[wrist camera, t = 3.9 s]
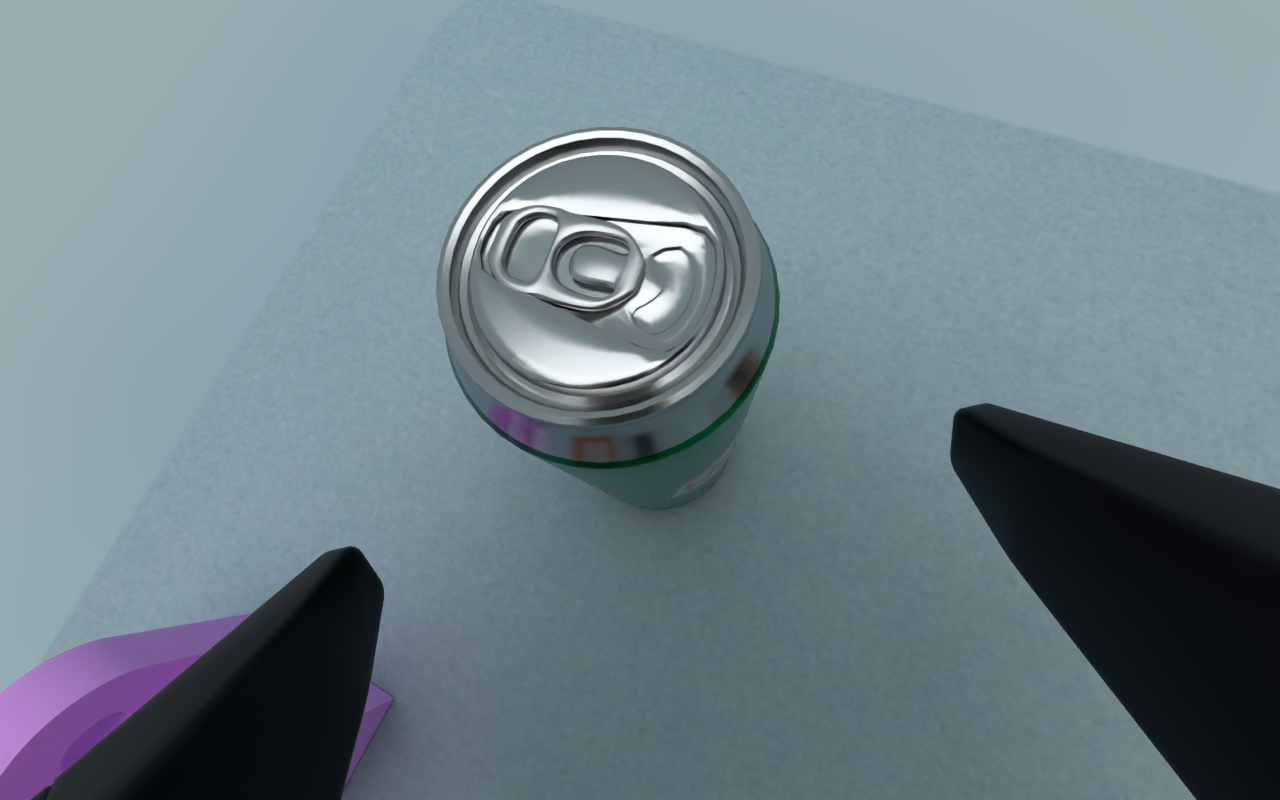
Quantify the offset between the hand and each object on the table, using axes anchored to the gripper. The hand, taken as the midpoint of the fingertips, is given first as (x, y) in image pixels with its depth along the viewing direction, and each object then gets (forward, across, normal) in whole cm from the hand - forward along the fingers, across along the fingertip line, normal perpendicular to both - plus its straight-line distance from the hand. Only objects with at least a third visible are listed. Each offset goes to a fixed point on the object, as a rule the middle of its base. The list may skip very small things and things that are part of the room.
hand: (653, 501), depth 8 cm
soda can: (+9, 0, +5) cm, 11 cm away
